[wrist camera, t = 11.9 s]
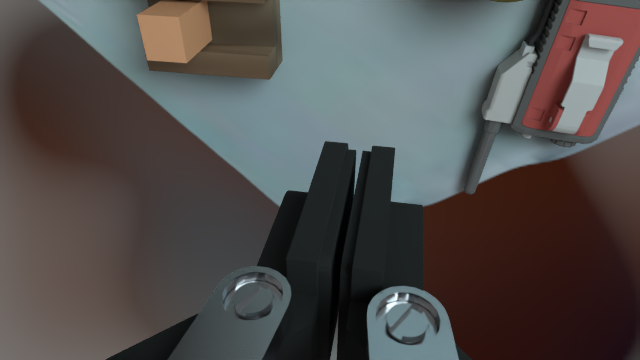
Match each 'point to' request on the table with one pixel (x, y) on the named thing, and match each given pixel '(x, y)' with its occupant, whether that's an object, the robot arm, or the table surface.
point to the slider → (175, 30)
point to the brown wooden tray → (236, 41)
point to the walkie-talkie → (563, 76)
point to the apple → (506, 0)
